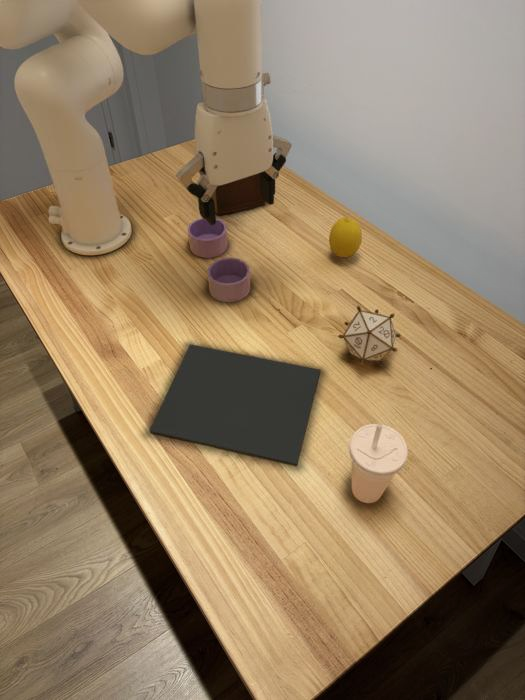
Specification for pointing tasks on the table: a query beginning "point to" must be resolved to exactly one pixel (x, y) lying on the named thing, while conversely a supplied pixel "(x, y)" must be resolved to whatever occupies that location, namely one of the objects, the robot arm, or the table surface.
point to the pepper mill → (237, 195)
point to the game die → (370, 336)
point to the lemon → (345, 237)
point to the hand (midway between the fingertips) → (238, 209)
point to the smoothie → (375, 460)
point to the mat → (239, 404)
